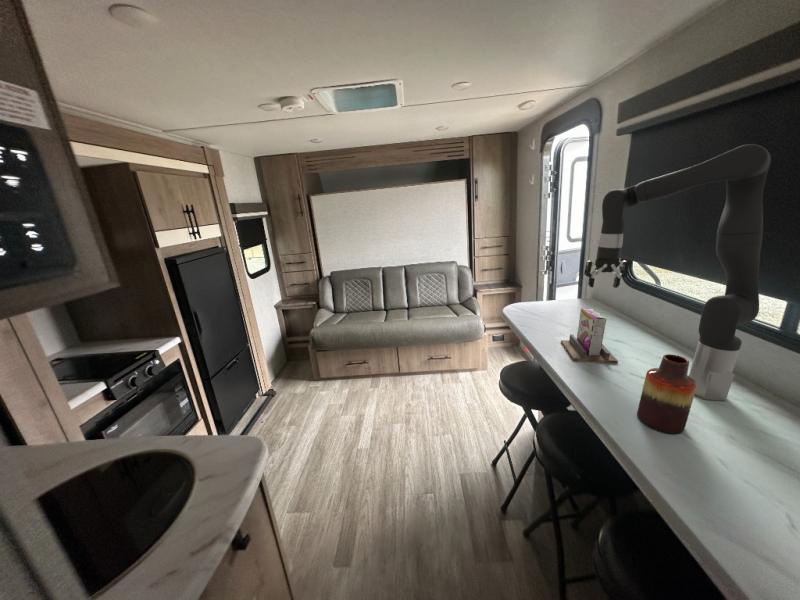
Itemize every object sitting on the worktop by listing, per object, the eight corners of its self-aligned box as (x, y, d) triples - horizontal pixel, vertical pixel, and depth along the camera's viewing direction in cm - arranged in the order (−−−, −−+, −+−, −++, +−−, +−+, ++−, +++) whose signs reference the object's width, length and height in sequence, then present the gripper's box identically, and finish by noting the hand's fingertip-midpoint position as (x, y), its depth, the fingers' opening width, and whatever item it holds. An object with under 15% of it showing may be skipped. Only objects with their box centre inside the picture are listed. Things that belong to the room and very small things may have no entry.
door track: (600, 344, 139) (601, 335, 138) (617, 363, 124) (619, 353, 122) (560, 342, 142) (562, 334, 141) (572, 360, 127) (574, 351, 125)
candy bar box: (574, 343, 138) (580, 308, 133) (586, 343, 138) (592, 308, 133) (587, 356, 128) (594, 317, 123) (600, 356, 127) (607, 317, 122)
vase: (636, 405, 99) (650, 346, 93) (682, 418, 93) (699, 355, 87) (636, 425, 91) (651, 361, 85) (686, 440, 85) (706, 373, 79)
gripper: (593, 247, 117) (587, 289, 122) (636, 246, 115) (628, 290, 120) (585, 244, 124) (580, 284, 129) (626, 244, 122) (618, 285, 127)
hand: (603, 287), depth 124 cm, fingers open, 8 cm apart
